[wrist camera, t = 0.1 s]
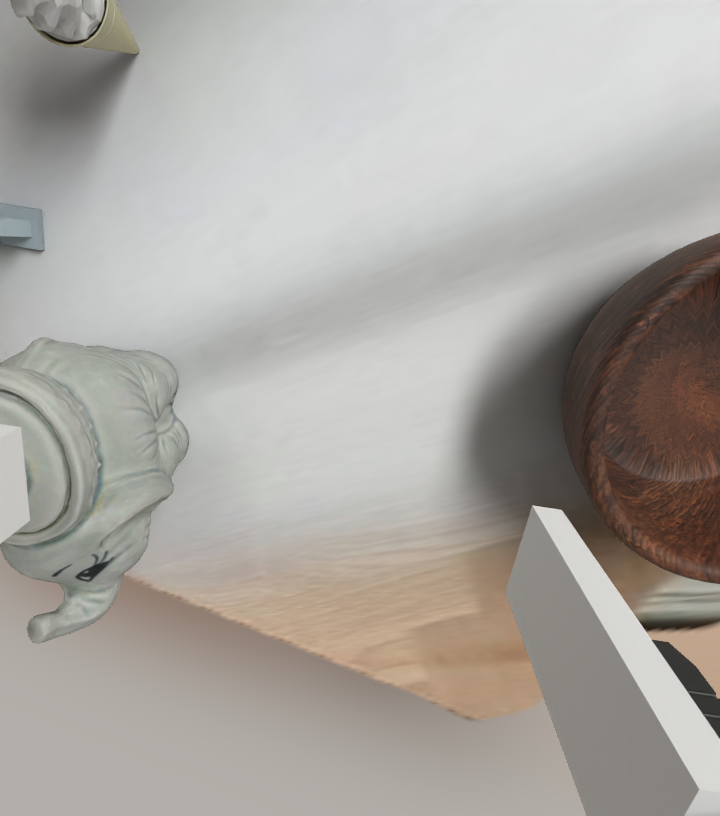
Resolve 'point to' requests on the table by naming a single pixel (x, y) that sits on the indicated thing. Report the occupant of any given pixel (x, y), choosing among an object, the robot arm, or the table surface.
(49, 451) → the teapot
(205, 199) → the table surface
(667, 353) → the wooden bowl
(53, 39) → the ice cream cone
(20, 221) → the low wall
